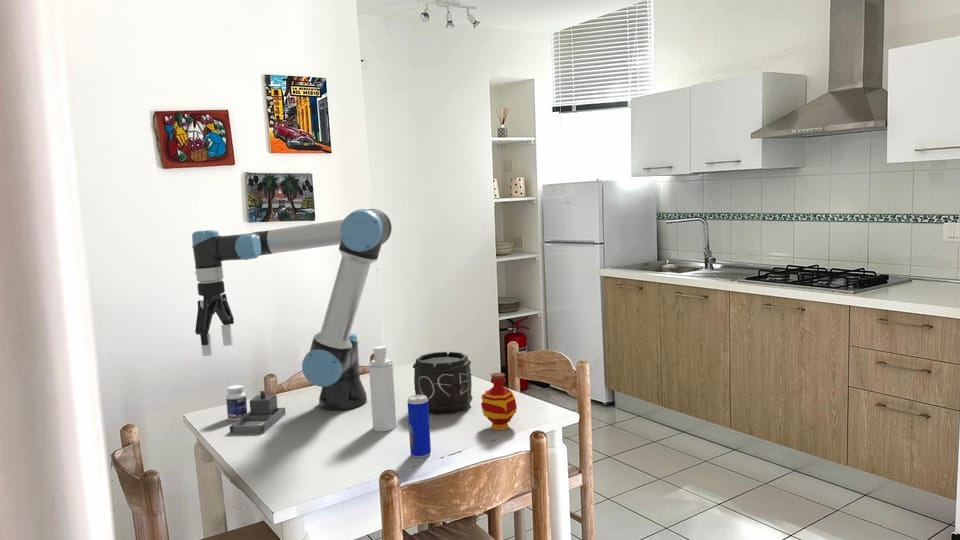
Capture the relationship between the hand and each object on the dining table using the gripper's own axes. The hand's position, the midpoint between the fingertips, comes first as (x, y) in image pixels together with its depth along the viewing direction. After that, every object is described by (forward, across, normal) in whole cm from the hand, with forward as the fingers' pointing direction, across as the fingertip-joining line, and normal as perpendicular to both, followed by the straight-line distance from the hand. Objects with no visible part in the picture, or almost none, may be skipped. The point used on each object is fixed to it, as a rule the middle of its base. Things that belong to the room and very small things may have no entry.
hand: (218, 350), depth 209 cm
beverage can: (+23, +32, +66) cm, 77 cm away
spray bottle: (+23, +11, +52) cm, 58 cm away
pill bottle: (+22, 0, +4) cm, 22 cm away
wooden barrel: (+23, -7, +67) cm, 72 cm away
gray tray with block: (+22, +5, +13) cm, 26 cm away
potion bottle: (+24, +12, +85) cm, 89 cm away
